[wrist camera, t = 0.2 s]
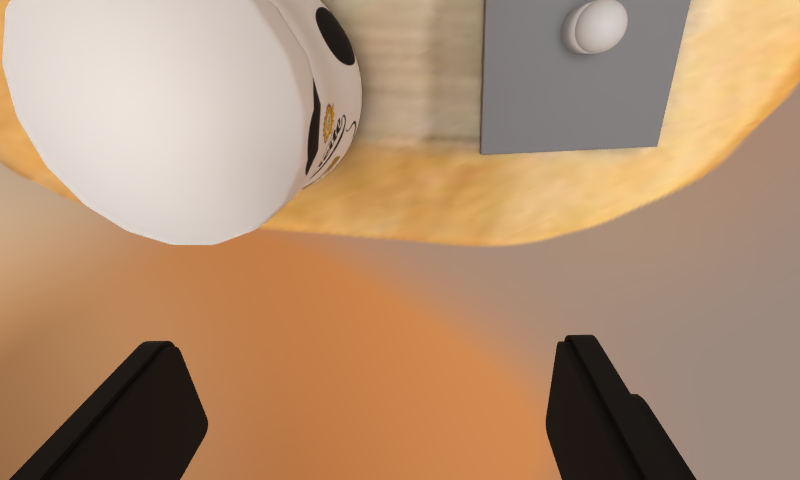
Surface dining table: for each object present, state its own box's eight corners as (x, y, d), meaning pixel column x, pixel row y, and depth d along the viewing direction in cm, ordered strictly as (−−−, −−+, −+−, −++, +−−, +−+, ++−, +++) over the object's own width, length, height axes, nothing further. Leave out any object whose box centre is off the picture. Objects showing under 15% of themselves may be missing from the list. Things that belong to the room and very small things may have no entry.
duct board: (488, -115, 29) (503, -153, 23) (713, -137, 28) (784, -182, 22) (479, 152, 37) (489, 169, 32) (651, 144, 36) (691, 159, 31)
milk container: (346, 197, 40) (296, 293, 24) (180, 150, 39) (9, 219, 23) (389, 12, 33) (357, -29, 16) (185, -53, 31) (-67, -167, 15)
